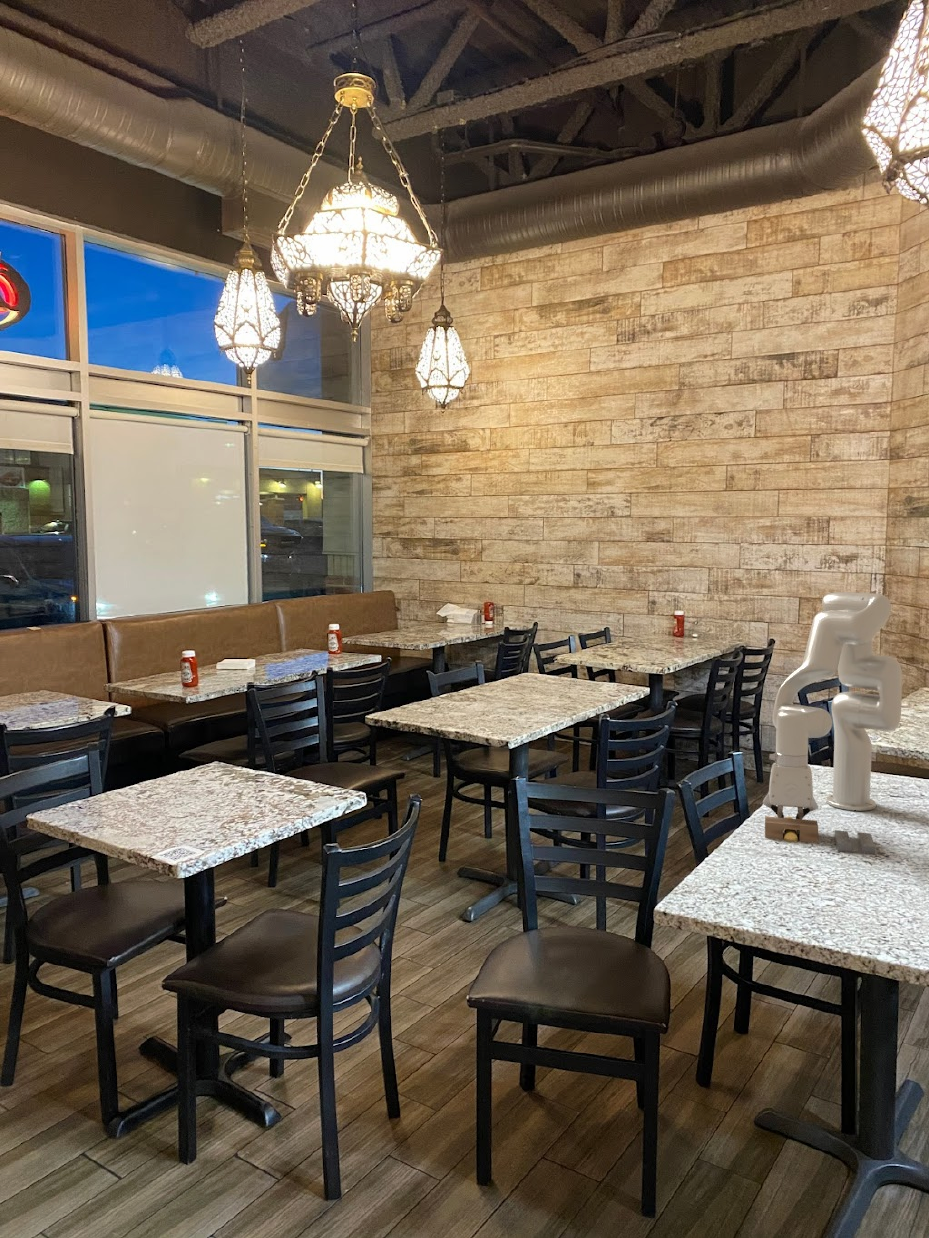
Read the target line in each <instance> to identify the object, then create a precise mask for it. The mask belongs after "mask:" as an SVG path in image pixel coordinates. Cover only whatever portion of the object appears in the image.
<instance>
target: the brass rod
mask: <svg viewBox="0 0 929 1238" xmlns="http://www.w3.org/2000/svg"><path fill="white" fill-rule="evenodd" d="M784 818H792V819H794V817H792V816H786V817H785V816H784ZM797 832H798V831H796V830H792V829H784V830H783V839H784V841H785V842H796V843H797V842H798V841H799V837H798V833H797Z"/></svg>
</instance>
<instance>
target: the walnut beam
mask: <svg viewBox="0 0 929 1238" xmlns="http://www.w3.org/2000/svg"><path fill="white" fill-rule="evenodd" d="M792 818H793V817H792ZM792 818H785V817H784V818H780V817H778V816H766V815H765V816H764V838H766V839H776V840H783V839H784V830H783V829H792V830H799V831H798V841H800V842H807V843H819V822H818V820H813V819H812V820H811V819H804V818H803V819H796V818H793V819H792Z"/></svg>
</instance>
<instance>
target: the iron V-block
mask: <svg viewBox="0 0 929 1238" xmlns="http://www.w3.org/2000/svg"><path fill="white" fill-rule="evenodd" d="M833 835H834V836H833V838H834V842H835V845H836V850H837V852H841V853H842V852H843V853H852V854H863V855H873V856H874V855H875V856H876V854H877V853H876V851H877V849H876V844H875V842H874V839H873V837H872V834H871V833H869V832H861V831H859V832H858V831H857V835H856V837H850V835H849V832H848V831H846V830H836V829H834V833H833Z"/></svg>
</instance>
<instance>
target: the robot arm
mask: <svg viewBox="0 0 929 1238" xmlns="http://www.w3.org/2000/svg"><path fill="white" fill-rule="evenodd" d="M821 609H822V611H820V612H818V613H816V614H815V616H813V619H812V622H811V626H810V627H811V628H810V631H809V635H808V640H807V642H806V647H805V651H804V655H803V656H804V657H803V660H802V664H801V665H800V666H799V667H798V668H797V669H796V670H794V671H793V672H792V673H791V674H789V676H788V677H786V679H785V680H784V681H783V683H782V684H781V685H780V686H779V688H778V691H777V693H776V696H775V697H776V698H775V701H774V704H773V708H772V709H773V710H772V716H771V717H772V719H771V720H772V725H773V726H774V727H775V733H776V734H775V735H776V736H775V752H774V753H769V760H772V761H774V762H773V763H772V765H771V770H770V776H769V786H768V793H766V796H765V797H764V798H763V801H762V804H763V806H766V807H767V808H769V809H771V810H772V811H773V813H775V815H777V816H776V817H780V818H785V815H784V812H783V810H784V807H790V808H797V813H796V816H795V819H803V820H804V817H806V816H807V815H809V814H810V812H813V811H816V810H818V809H819V805H818V803H817V802H816V799H815V797H814V792H813V791H814V790H813V789H814V788H813V786H814V785H813V784H814V783H813V773H812V768H811V766H810V765H809V764H808V762H809V760H808V759H809V739H812V738H814V739H816V738H823V737H824V736H825V737H826V735H828V734H829V732H830V731H831V729H832V727H833V733H834V734H833V735H834V738H833V742H834V743H833V750H834V751H833V770H832V771H833V775H832V778H833V779H832V795H828V796H827V797H826V803H827V804H828V805H830V806H831V807H834V808H837V809H841V810H847V811H854V810H856V811H859V812H863V811H864V812H865V811H870V810H874V809H875V808H877V803H876V801H875V800H873V799H871V780H872V779H871V777H872V776H871V775H872V773H871V772H872V771H871V770H872V748H873V747H872V746H873V745H872V741H871V738H870V736H869V734H868V733H867V731H866V730H867V729H868V730H873V731H880V732H893V731H895V730H896V729H898V727H899V725H900V723H901V718H902V701H903V700H902V698H903V697H902V696H903V695H902V694H903V693H902V692H903V690H902V689H903V671H902V666H901V664H900V662H899V661H898V660H897V659H896V658H895V657H892V656H889V655H881V654H874V652H873V639H874V638H875V636H876V635H877V634H878V632H880V630H882V629H883V627H884V626H885V625H886V624H887V622H888V621H889V619H890V616H891V612H892V605H891V601H890V599H889V598H888V597H887V596H885V595H884V594H880V593H874V592H873V593H870V592H869V593H866V592H865V593H864V592H850V591H848V592H847V591H843V592H841V591H838V592H831V593H827V594H825V595H824V597H823V598H822V599H821ZM836 674H837V675H838V681H839V682H840V683H841V685H843V686H845V687H849V688H853V689H854V688H855V689H864V690H872V691H877V692H878V694H875V693H873V694H872V693H867V692H866V693H865V692H858V691H843V692H840V693H837V694H835V696H834V697H833V699H832V701H831V706H830V707H831V714H830V713H829V711H827V710H826V709H824V708H821V707H813V706H807V705H801V704H794V703H793V702H794V698H795V697H796V696H797V694H798V693H799V692H800V691H801V690H802V689H803V688H804V687H806V686H808V685H810V684H813V683H815V682H818V681H822V680H824V679H828V678H831V677H832V676H834V675H836ZM783 831H784V829H783ZM796 831H797V832H799V830H796Z"/></svg>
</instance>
